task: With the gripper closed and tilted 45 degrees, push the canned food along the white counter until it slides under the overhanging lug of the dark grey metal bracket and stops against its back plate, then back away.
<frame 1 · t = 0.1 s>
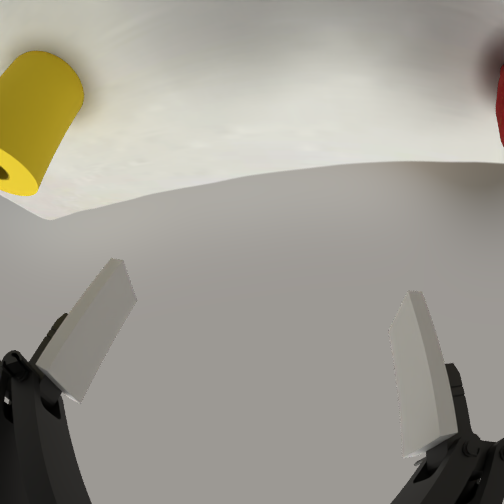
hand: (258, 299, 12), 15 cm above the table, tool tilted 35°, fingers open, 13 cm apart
strawberry: (501, 66, 9), on the table
yellow toilet paper roll: (44, 86, 17), on the table
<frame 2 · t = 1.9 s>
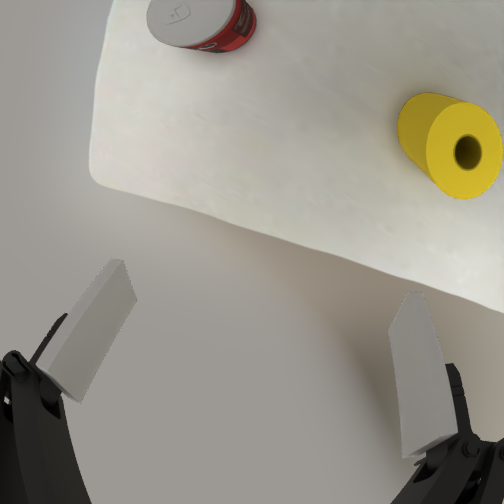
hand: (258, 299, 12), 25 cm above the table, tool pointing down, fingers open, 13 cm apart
yellow toilet paper roll: (431, 130, 27), on the table
canned food: (224, 25, 24), on the table
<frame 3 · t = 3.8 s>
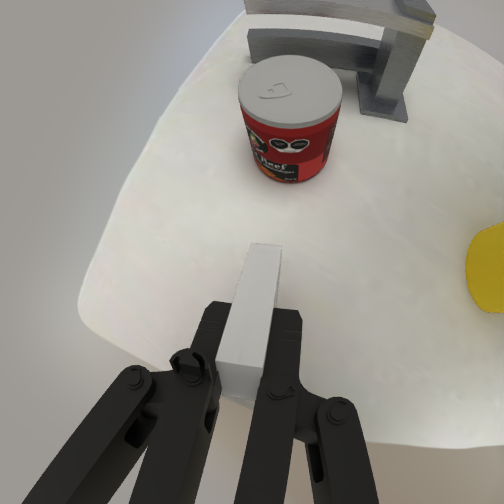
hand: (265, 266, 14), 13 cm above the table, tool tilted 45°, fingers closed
yellow toilet paper roll: (492, 270, 23), on the table
canned food: (291, 153, 29), on the table
bracket: (295, 86, 30), on the table
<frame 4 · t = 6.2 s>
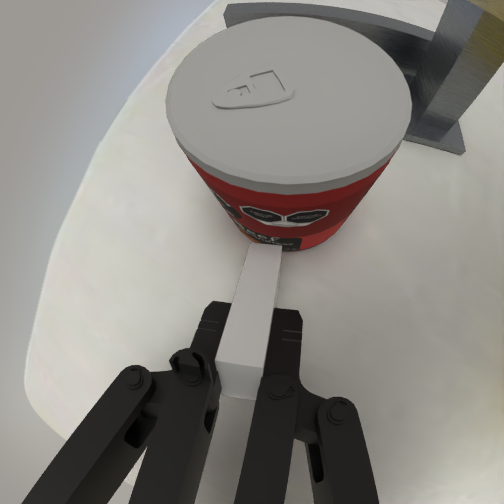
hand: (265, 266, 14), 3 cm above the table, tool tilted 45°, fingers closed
canned food: (289, 196, 18), on the table, touching gripper
bracket: (298, 89, 19), on the table
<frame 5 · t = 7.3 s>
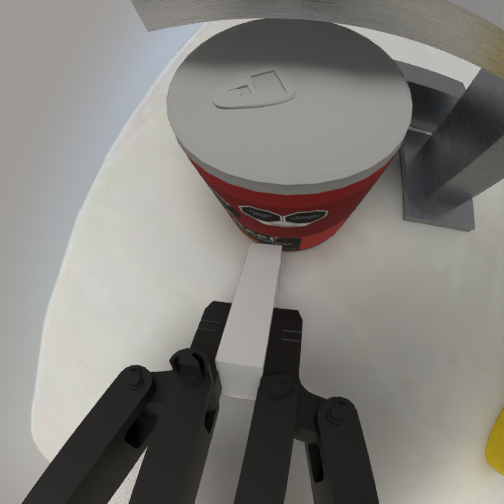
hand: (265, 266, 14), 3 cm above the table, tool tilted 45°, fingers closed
canned food: (290, 196, 18), on the table, touching gripper
bracket: (292, 157, 18), on the table
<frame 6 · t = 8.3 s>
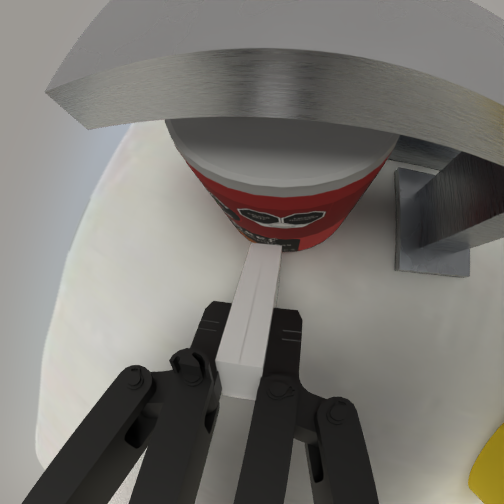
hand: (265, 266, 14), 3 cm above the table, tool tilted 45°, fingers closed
canned food: (288, 197, 18), on the table, touching bracket, gripper
bracket: (280, 204, 18), on the table
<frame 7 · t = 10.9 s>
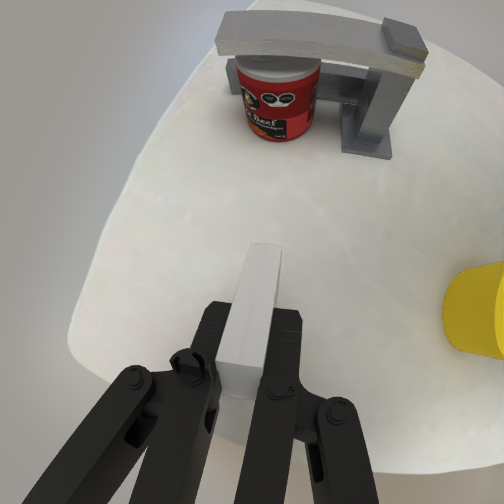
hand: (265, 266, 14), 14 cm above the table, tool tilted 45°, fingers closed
yellow toilet paper roll: (471, 310, 25), on the table
canned food: (280, 118, 31), on the table
bracket: (275, 121, 31), on the table
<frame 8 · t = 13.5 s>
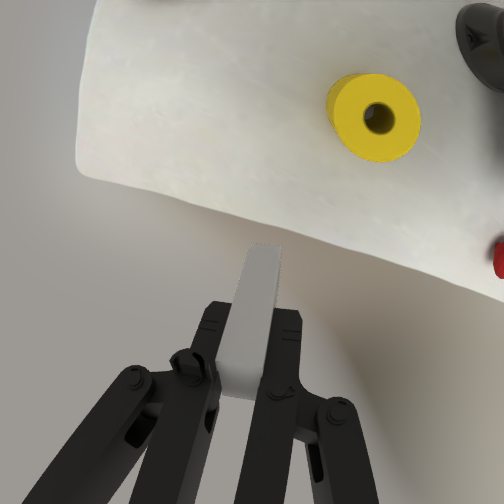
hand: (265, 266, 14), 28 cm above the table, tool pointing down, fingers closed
strawberry: (495, 244, 38), on the table
yellow toilet paper roll: (361, 108, 32), on the table
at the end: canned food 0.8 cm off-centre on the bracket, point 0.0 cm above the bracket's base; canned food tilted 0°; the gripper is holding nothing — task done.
